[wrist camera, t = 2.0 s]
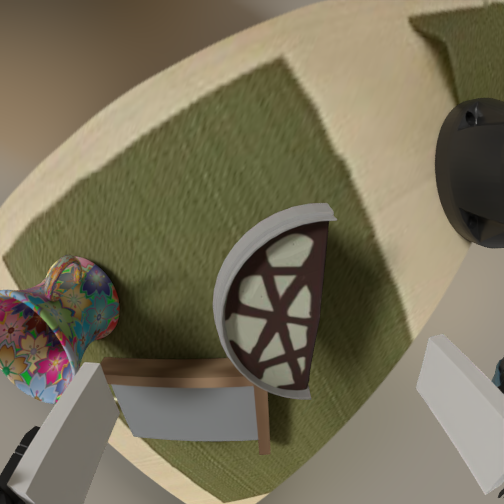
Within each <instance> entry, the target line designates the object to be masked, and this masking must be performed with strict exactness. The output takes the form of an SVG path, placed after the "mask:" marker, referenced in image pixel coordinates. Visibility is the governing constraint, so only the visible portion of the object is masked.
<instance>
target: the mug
mask: <svg viewBox="0 0 504 504" xmlns="http://www.w3.org/2000/svg"><path fill="white" fill-rule="evenodd" d="M119 312H120V306H119V300H118V296H117V292H116V290H115V288H114V286H113V284H112V282H111V280H110V279H109V277H108V276H107V275H106V274H105V272H104V271H103V270H102V269H101V268H99V267H98V266H97V265H96V264H94V263H93V262H91V261H89V260H87V259H85V258H81V257H76V256H72V255H66V256H64V257H62V258H61V259H59V260H58V261H56V262H55V263H54V264H53V265H52V266H51V268H50V269H49V271H48V273H47V276H46V278H45V280H44V281H43V282H41V283H40V284H38V285H37V286H35V287H32V288H29V289H25V290H0V369H1V370H2V372H3V373H4V374H5V375H6V376H7V377H8V378H9V380H10V381H11V382H12V383H13V384H15V385H16V386H17V387H18V388H19V389H20V390H22V391H23V392H25V393H26V394H28V395H29V396H31V397H33V398H35V399H37V400H40V401H43V402H46V403H51V404H56V403H57V401H58V400H59V398H60V397H61V395H62V394H63V392H64V391H65V390H66V388H67V387H68V385H69V384H70V382H71V381H72V379H73V378H74V376H75V375H76V374H77V372H78V371H79V368H80V363H81V359H82V356H83V354H84V352H85V350H86V348H87V347H88V346H89V344H90V343H91V342H92V341H94V340H98V339H101V338H104V337H105V336H107V335H109V334H110V333H111V332H112V331H113V329H114V328H115V326H116V324H117V322H118V318H119Z"/></svg>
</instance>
